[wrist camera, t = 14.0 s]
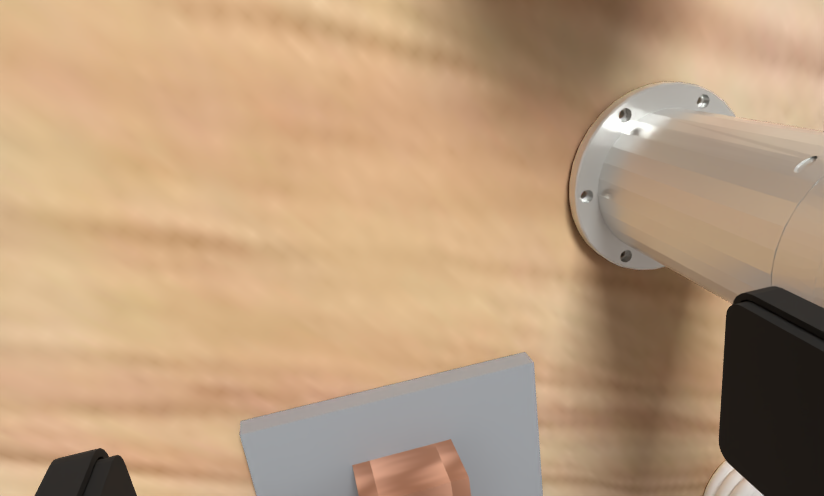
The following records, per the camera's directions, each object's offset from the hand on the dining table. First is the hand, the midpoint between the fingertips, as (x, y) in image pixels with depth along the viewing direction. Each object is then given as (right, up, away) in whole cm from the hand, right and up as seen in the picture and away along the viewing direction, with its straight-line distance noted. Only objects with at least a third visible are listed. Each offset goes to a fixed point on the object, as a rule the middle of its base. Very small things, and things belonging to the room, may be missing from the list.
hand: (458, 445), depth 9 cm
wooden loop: (-1, -14, +34) cm, 37 cm away
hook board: (-1, -14, +35) cm, 38 cm away
